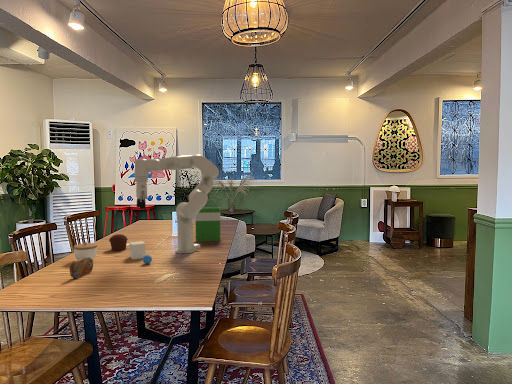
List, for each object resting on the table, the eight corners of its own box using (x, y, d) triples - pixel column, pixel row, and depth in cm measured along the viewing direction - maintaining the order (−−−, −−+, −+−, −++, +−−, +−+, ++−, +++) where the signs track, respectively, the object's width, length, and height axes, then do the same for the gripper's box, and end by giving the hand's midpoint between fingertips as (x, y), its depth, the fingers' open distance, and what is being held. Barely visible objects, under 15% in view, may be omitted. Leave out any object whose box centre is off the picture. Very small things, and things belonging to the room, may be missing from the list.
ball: (151, 262, 213) (150, 253, 213) (153, 264, 209) (152, 255, 208) (142, 263, 211) (141, 254, 210) (143, 265, 206) (143, 256, 206)
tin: (74, 280, 180) (73, 263, 179) (68, 280, 181) (67, 263, 180) (93, 271, 195) (93, 255, 194) (88, 271, 195) (87, 255, 195)
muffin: (127, 247, 254) (126, 232, 253) (129, 250, 244) (128, 235, 243) (108, 248, 248) (107, 234, 248) (109, 252, 239) (109, 236, 238)
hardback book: (195, 241, 271) (195, 208, 270) (197, 239, 279) (196, 207, 277) (220, 240, 272) (219, 208, 271) (220, 238, 280) (220, 207, 278)
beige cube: (142, 255, 230) (142, 241, 229) (145, 257, 223) (145, 243, 222) (130, 256, 226) (129, 242, 226) (132, 259, 219) (131, 244, 219)
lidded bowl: (85, 257, 226) (85, 239, 225) (102, 258, 222) (101, 240, 221) (69, 262, 214) (68, 243, 213) (86, 264, 210) (85, 244, 209)
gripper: (150, 180, 218) (150, 209, 219) (144, 179, 233) (144, 206, 234) (137, 179, 214) (137, 209, 215) (132, 179, 229) (132, 206, 230)
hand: (141, 207), depth 224 cm, fingers open, 9 cm apart
